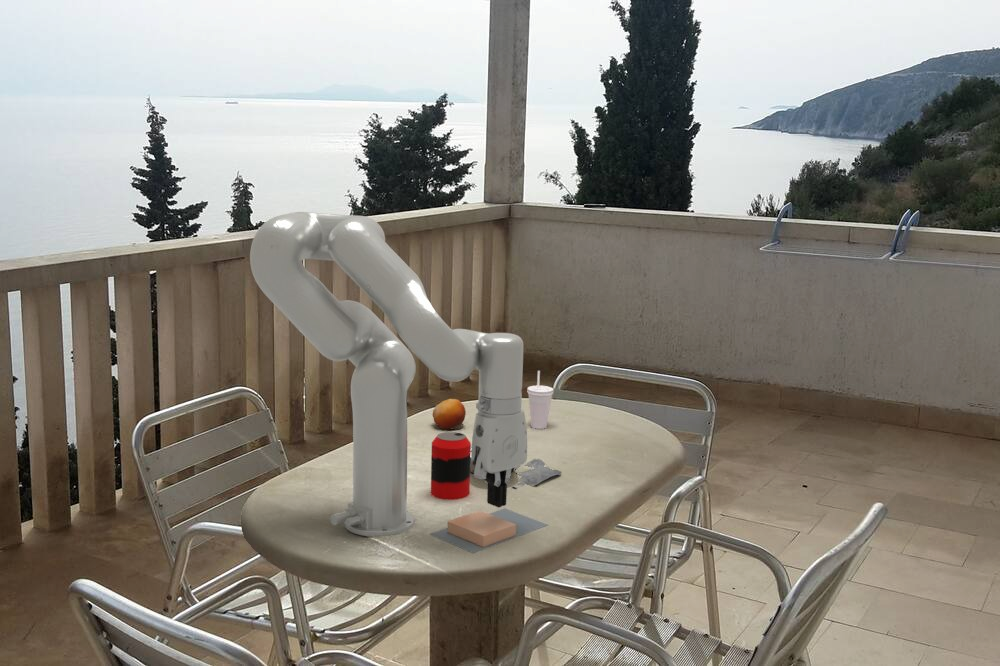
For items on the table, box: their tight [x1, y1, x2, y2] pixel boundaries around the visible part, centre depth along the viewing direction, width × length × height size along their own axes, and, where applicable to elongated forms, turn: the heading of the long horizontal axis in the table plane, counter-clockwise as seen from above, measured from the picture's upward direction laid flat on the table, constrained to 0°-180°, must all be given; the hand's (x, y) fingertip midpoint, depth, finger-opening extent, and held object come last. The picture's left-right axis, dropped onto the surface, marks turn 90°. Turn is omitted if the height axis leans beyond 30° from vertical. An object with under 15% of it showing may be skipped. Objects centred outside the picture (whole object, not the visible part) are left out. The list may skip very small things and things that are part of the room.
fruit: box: [432, 398, 467, 431], centre depth 243 cm, size 8×8×8 cm
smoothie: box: [526, 370, 554, 430], centre depth 245 cm, size 6×6×14 cm
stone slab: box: [511, 458, 561, 490], centre depth 210 cm, size 18×2×10 cm
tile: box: [447, 509, 516, 547], centre depth 177 cm, size 2×9×8 cm
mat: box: [429, 508, 549, 554], centre depth 179 cm, size 19×11×1 cm, turn 136°
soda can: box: [430, 431, 472, 501], centre depth 196 cm, size 8×8×12 cm
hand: (496, 504), depth 179 cm, fingers closed
